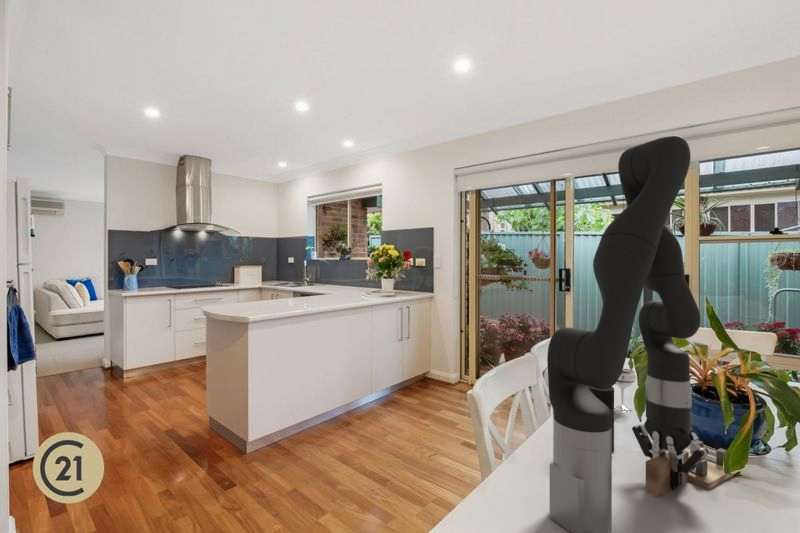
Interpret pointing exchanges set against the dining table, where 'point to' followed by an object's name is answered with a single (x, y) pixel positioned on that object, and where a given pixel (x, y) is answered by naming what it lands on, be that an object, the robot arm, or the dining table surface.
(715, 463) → the wooden base with pegs
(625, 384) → the wineglass
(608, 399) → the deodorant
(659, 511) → the dining table surface
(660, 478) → the brown block
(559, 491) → the robot arm
